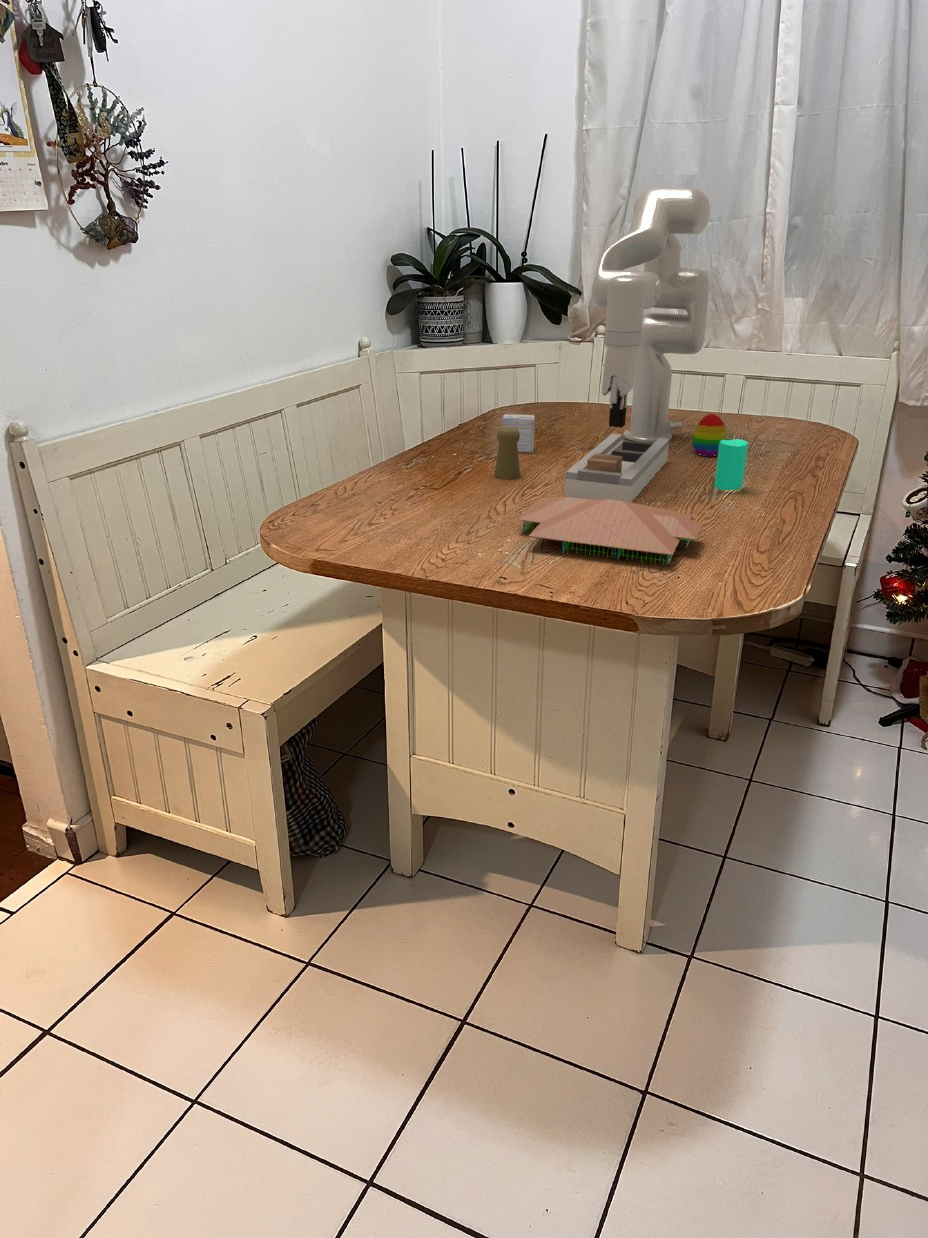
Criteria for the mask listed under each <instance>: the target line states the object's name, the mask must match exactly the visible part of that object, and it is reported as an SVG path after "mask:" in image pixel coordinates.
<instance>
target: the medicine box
mask: <svg viewBox="0 0 928 1238" xmlns="http://www.w3.org/2000/svg"><path fill="white" fill-rule="evenodd" d="M535 419H536V417H535V415H534V414H507V413H506V414H503V416H502V420H501V421H502V427H501V428H503V427H513V428H516V429H518V431H519V433H520V438H519V441H518V442H517V447H518V453H531V454H532V453H534V445H535V421H536V420H535Z"/></svg>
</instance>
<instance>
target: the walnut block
mask: <svg viewBox="0 0 928 1238" xmlns="http://www.w3.org/2000/svg"><path fill="white" fill-rule="evenodd" d="M622 457H623V456H615V455H606V454H597V453H595V454H594V455H593V456H591V457H590V458H589V459H588V460H587V469H589V470H598V471H607V472H616V473H621V470H622Z"/></svg>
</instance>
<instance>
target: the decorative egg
mask: <svg viewBox="0 0 928 1238" xmlns="http://www.w3.org/2000/svg"><path fill="white" fill-rule="evenodd" d="M722 440H728V433H727V429H726V425H725V422H724V421H723V419H721V417H720V416H719V415H717V414H714V413H709V414H707V415H705V416H704V417H703V418H701V419H700V421H698V423H697V425H696V426H695V428H694V431H693V436H692V447H693V450H694V451H695V453H696V454H697V455H698V454H701V455H706V456H714V455H718V451H719V443H720V441H722Z"/></svg>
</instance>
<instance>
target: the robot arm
mask: <svg viewBox="0 0 928 1238" xmlns="http://www.w3.org/2000/svg"><path fill="white" fill-rule="evenodd" d="M710 208H711V207H710V202H709V199H708V197H707V195H706V194H705V193H704V192H703V191H701V190H700V189H698V188H695V187H685V186H684V187H680V186H679V187H675V186H674V187H671V186H669V187H667V186H666V187H665V186H662V187H659V186H658V187H651V188H649V189H646V190H645V191H644V192H642V193H641V194H640V196H639V197H637V199H635V202H634V204H633V216H632V219H631V223H630V227H629V229H628V234H626V235H624V236H623V237H621V238H620V239H618V240H617V241H616V242H614V243H613V244H611V245H610V246H609V247H608V248H607V249H606V250H605V251H604V252H603V253H602V255H601V256H600V259H599V261H598V263H597V266H596V269H595V272H594V275H593V276H594V277H593V279H592V280H593V281H592V286H591V296H592V299H593V302H594V303H595V304H596V305H597V306H598V307H601V308H606V313H605V314H606V315H605V316H606V317H605V329H604V330H605V332H604V347H606V352H605V358H604V366H603V373H602V384H601V395H602V396H607V395H608V394H609V393H610V395H609V396H610V398H609V417H608V418H609V419H608V426H609V427H612V428H624V427H625V426H626V418H627V403H628V394H629V392H631V391H632V398H631V399H632V400H631V401H632V402H631V413H630V426H629V429H626V430H624V432H623V438H624V439H626V440H627V441H632V442H641V443H651V444H654V443H655V442H656V441H657V440H658V439H659V438H663V439H669V441H671V440H672V438H673V437H672V433H671V432H672V431H673V430H681V429H682V428H683V422H682V421H674V422H673V421H672V420H670V419H669V416H668V415H669V407H670V396H671V386H672V377H673V370H672V367H671V364H670V363H669V361H668V359H667V358H666V356H665V355H664V354H679V355H694V354H695V355H696V354H698V353H700V351H702V348H703V346H704V342H705V337H706V328H707V327H706V326H707V316H708V315H707V314H708V304H709V297H710V296H709V295H710V294H709V293H710V281H709V277H708V274H707V272H705V271H704V270H703V269H698V268H690V267H689V268H687V267H686V268H682V267H681V251H682V246H681V243H680V240H679V239H678V236H677V235H678V234H679V235H681V234H684V235H686V234H687V235H699V234H701V233H703V231H705V229H706V227H707V225H708V223H709V219H710V213H711V211H710V210H711V209H710ZM676 234H677V235H676ZM643 264H644V267H643V270H626V269H630V268H633V267H637V266H640V265H643ZM651 308H656V309H667V310H669V309H670V310H685V311H686V313H687V314H682V313H681V314H680V313H670V312H669V313H665V312H664V313H663V312H651V313H650V312H649V313H646V314H644V310H648V309H651Z"/></svg>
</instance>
